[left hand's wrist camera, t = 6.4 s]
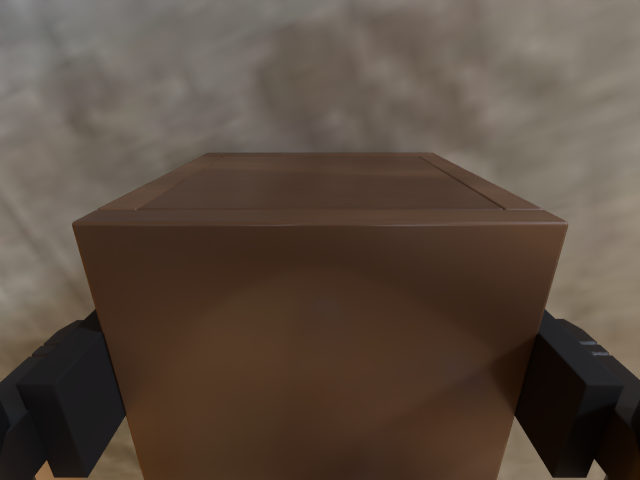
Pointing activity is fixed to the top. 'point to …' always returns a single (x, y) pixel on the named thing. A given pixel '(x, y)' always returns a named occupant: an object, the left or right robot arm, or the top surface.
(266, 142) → the top surface
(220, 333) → the cabinet
